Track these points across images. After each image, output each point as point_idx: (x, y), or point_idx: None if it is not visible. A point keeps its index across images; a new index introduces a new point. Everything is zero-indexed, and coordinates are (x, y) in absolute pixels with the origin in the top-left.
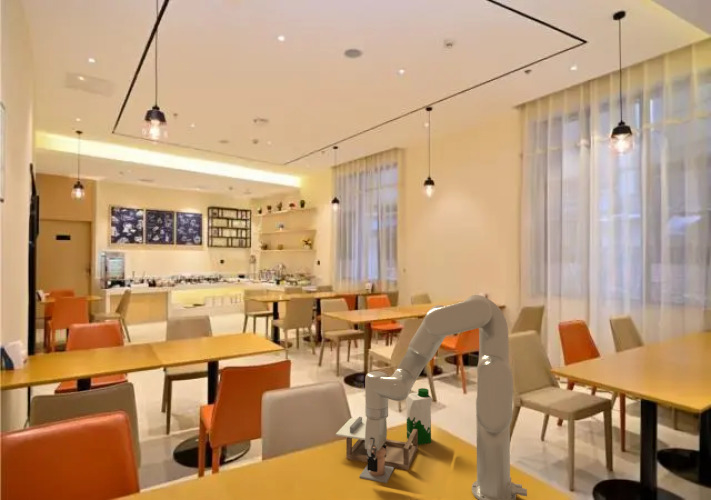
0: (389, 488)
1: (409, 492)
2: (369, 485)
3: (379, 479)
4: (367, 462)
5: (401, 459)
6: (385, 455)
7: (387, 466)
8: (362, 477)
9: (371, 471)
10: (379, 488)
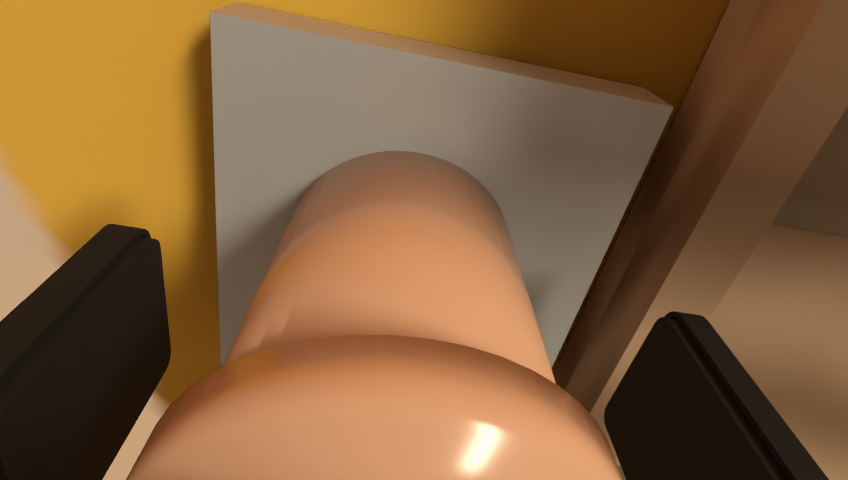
0: (210, 350)
1: None
2: (178, 160)
3: (226, 299)
4: (8, 317)
5: None
6: (620, 440)
7: (549, 350)
8: (219, 63)
9: (291, 222)
10: (167, 270)
